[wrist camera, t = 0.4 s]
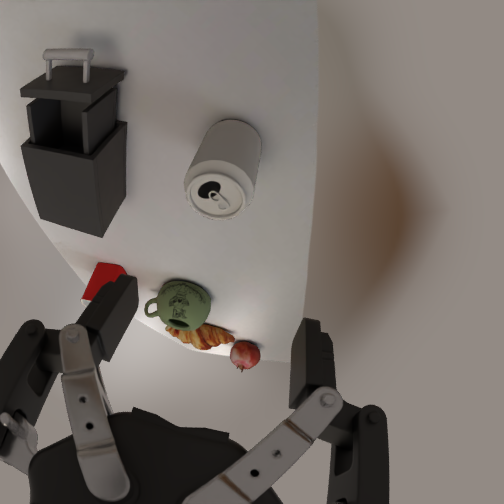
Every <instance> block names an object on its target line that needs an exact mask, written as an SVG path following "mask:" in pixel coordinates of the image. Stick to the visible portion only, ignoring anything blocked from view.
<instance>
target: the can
mask: <svg viewBox="0 0 504 504" xmlns="http://www.w3.org/2000/svg"><path fill="white" fill-rule="evenodd" d="M261 147H262V143H261V140H260V136H259V135H258V133H257V132H256V131H255V129H254V128H252V127H251V126H249V125H248V124H247V123H244V122H241V121H238V120H225V121H221V122H218V123H217V124H215V125H213V126H212V127H211V128H210V129H209V131H208V132H207V133H206V135H205V137H204V139H203V141H202V143H201V145H200V147H199V149H198V151H197V153H196V155H195V157H194V159H193V161H192V163H191V165H190V167H189V169H188V171H187V173H186V176H185V180H184V188H185V192H186V198H187V201H188V203H189V205H190V206H191V207H192V208H193V209H194V210H195V211H196V212H197V213H198V214H200V215H202V216H203V217H206V218H209V219H212V220H229V219H232V218H234V217H236V216H238V215H239V214H240V213H241V212H242V211H243V210H244V209H245V208H246V207H248V206H249V205H250V203H251V201H252V199H253V196H254V190H255V184H256V178H257V172H258V167H259V161H260V155H261Z"/></svg>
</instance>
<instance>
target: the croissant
mask: <svg viewBox="0 0 504 504" xmlns="http://www.w3.org/2000/svg"><path fill="white" fill-rule="evenodd" d="M165 330H166V331H168V332H169V333H170V334H171V335H172V336H173V337H177V338H178V339H180V340H181V341H182V342H183V343H188V344H190V343H191V344H192V345H193V346H194V347H195V348H197V349H200V350H209V349H211V347H212V346H213V347H216V346H219V345H220V344H221V343H222V344H227V343H229V342H234V341H235V338H234V336H233V335H231V334H229V333H227V332H225V331H224V330H223V329H221V328H218V327H213V326H210V325H207V324H202V325H201V326H200V327H199V328H197V329H195V330H192V331H182V330H178V329H175V328H172V327H170V326H166V328H165Z"/></svg>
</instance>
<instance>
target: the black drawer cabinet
mask: <svg viewBox="0 0 504 504" xmlns="http://www.w3.org/2000/svg"><path fill="white" fill-rule="evenodd" d="M126 135H127V122H122V121H117V120H115V130H114V131H113V132H112V133H111V134H110V135H109V136H108V137H107V138H106V140H105V141H104V142H103V143H102V144H101V145H100V146H99V147H98V148H97V150H96V151H95V152H94V153H93V154H92V155H91V156H89V155H85V154H80V153H75V152H70V151H65V150H60V149H55V148H50V147H45V146H39V145H34V144H32V142H31V137H30V138H29V139H27V140H26V141H25V142H24V143H23V144H22V145H21V150H22V155H23V159H24V163H25V168H26V172H27V176H28V179H29V183H30V187H31V190H32V194H33V197H34V200H35V204H36V207H37V210H38V213H39V216H40V219H43V220H46V221H49V222H52V223H56V224H59V225H62V226H65V227H68V228H71V229H75V230H78V231H81V232H84V233H87V234H91V235H94V236H97V237H101V238H103V236H104V234H105V232H106V230H107V228H108V227H109V225H110V223H111V221H112V219H113V218H114V216H115V214H116V212H117V211H118V209H119V207H120V205H121V204H122V202H123V200H124V199H125V197H126Z"/></svg>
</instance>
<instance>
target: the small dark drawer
mask: <svg viewBox="0 0 504 504" xmlns="http://www.w3.org/2000/svg"><path fill="white" fill-rule="evenodd" d="M93 56H94V50H93V49H46V50H45V51H44V53H43V59H44V60H46V73H44V74H43V75H41V76H39V77H38V78H36V79H34V80H33V81H31V82H30V83H28V84H27V85H25V86H24V87H22V88H21V89H20V93H21V97H29V98H36V99H35V100H33V101H32V102H31V103H29V104H28V105H27V106H26V107H27V116H28V123H29V130H30V136H31V142H32V144H34V145H39V146H45V147H50V148H55V149H60V150H65V151H70V152H75V153H80V154H85V155H89V156H91V155H92V154H93V153H94V152H95V151H96V150H97V148H98V147H99V146H100V145H101V144H102V143H103V142H104V141H105V140H106V138H107V137H108V136H109V135H110V134H111V133H112V132H113V131H114V130H115V118H116V98H117V88H112V87H113V86H115V85H116V84H117V83H119V82H120V81H122V80H123V79H124V72H125V71H121V70H112V69H101V68H90V60H92V58H93ZM52 60H84V64H83V67H71V66H56V67H54V68H53V69H52Z"/></svg>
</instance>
